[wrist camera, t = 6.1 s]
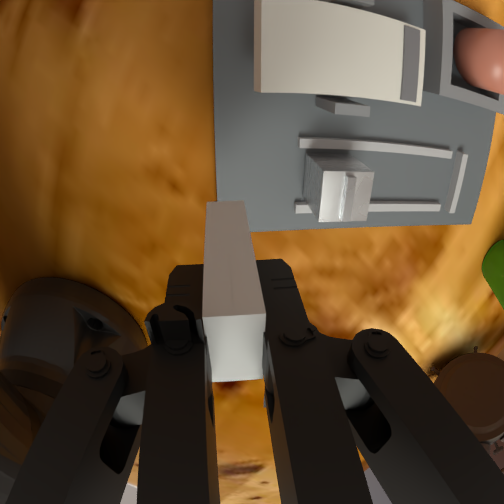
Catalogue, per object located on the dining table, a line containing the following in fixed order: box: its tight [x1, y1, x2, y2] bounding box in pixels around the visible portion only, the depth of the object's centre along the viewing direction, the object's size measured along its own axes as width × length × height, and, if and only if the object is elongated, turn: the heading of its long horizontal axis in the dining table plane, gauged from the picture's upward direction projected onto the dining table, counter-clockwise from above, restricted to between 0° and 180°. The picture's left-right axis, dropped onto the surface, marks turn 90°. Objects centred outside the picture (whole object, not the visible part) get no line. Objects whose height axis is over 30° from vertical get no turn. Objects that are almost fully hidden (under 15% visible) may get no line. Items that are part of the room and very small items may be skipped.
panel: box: [213, 0, 504, 232], centre depth 17 cm, size 22×18×4 cm
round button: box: [453, 28, 504, 95], centre depth 13 cm, size 4×4×3 cm
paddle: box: [254, 0, 426, 106], centre depth 13 cm, size 10×5×1 cm, turn 90°
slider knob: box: [303, 153, 374, 222], centre depth 18 cm, size 3×3×4 cm
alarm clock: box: [431, 346, 504, 472], centre depth 30 cm, size 15×7×20 cm, turn 104°
